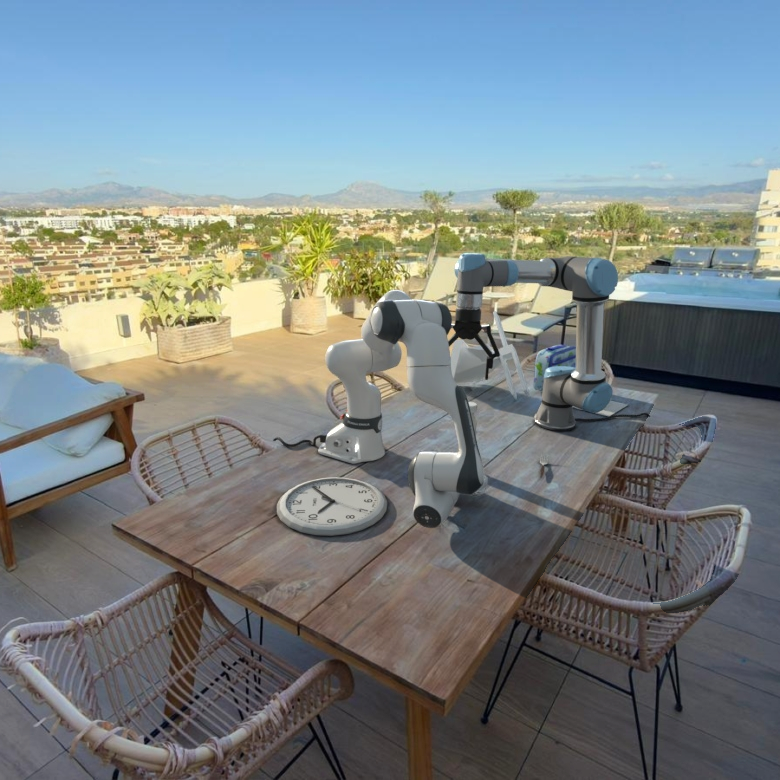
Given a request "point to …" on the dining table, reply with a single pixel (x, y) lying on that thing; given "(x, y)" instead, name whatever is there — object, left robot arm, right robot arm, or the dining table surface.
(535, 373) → the lunch box
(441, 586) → the dining table surface
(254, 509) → the dining table surface
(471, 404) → the cap
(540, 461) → the fork
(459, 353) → the white plastic object
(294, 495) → the wall clock
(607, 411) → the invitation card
